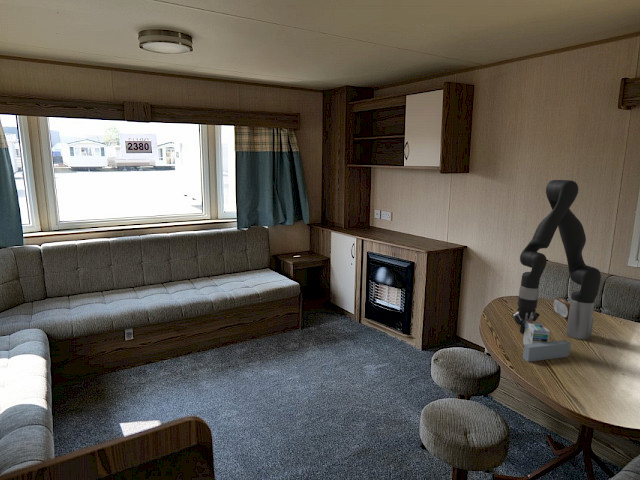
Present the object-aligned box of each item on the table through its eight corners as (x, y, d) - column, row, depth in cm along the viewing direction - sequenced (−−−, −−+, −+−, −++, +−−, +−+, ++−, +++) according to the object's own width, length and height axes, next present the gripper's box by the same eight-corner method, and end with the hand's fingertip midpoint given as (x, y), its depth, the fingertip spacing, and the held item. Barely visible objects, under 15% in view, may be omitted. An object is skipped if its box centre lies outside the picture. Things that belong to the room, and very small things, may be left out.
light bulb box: (547, 355, 179) (550, 331, 176) (530, 354, 179) (533, 330, 177) (538, 344, 189) (541, 321, 187) (522, 343, 190) (524, 320, 188)
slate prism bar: (563, 353, 181) (564, 339, 180) (568, 356, 178) (570, 342, 177) (522, 358, 176) (524, 344, 175) (527, 361, 173) (529, 347, 172)
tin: (572, 321, 217) (574, 305, 215) (566, 321, 217) (568, 305, 215) (556, 310, 231) (558, 295, 230) (551, 310, 231) (553, 295, 230)
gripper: (534, 292, 192) (529, 329, 195) (509, 294, 188) (504, 331, 192) (547, 298, 185) (542, 335, 188) (521, 300, 181) (516, 338, 185)
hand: (523, 333), depth 190 cm, fingers closed
